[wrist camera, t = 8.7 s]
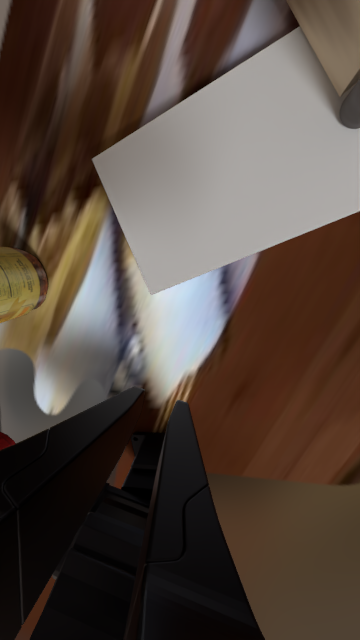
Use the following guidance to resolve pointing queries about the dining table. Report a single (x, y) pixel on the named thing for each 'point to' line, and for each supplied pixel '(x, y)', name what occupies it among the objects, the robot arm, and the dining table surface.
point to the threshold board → (235, 167)
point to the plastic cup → (5, 441)
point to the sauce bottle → (20, 283)
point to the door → (335, 47)
